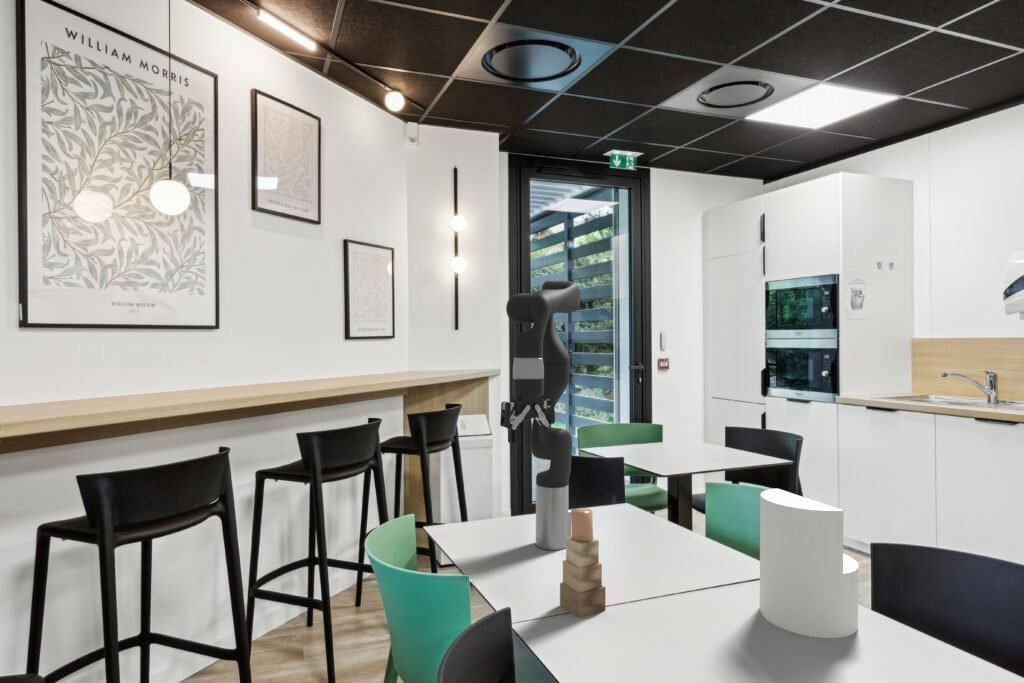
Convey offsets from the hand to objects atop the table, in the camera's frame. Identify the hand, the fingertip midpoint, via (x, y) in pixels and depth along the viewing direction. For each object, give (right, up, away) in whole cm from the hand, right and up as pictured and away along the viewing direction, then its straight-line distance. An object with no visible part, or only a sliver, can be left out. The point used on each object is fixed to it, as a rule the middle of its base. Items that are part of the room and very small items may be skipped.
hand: (528, 443), depth 150 cm
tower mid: (+11, -28, -15) cm, 34 cm away
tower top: (+11, -23, -15) cm, 30 cm away
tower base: (+11, -33, -15) cm, 38 cm away
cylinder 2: (+59, -34, -19) cm, 70 cm away
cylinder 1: (+12, -18, -15) cm, 26 cm away
